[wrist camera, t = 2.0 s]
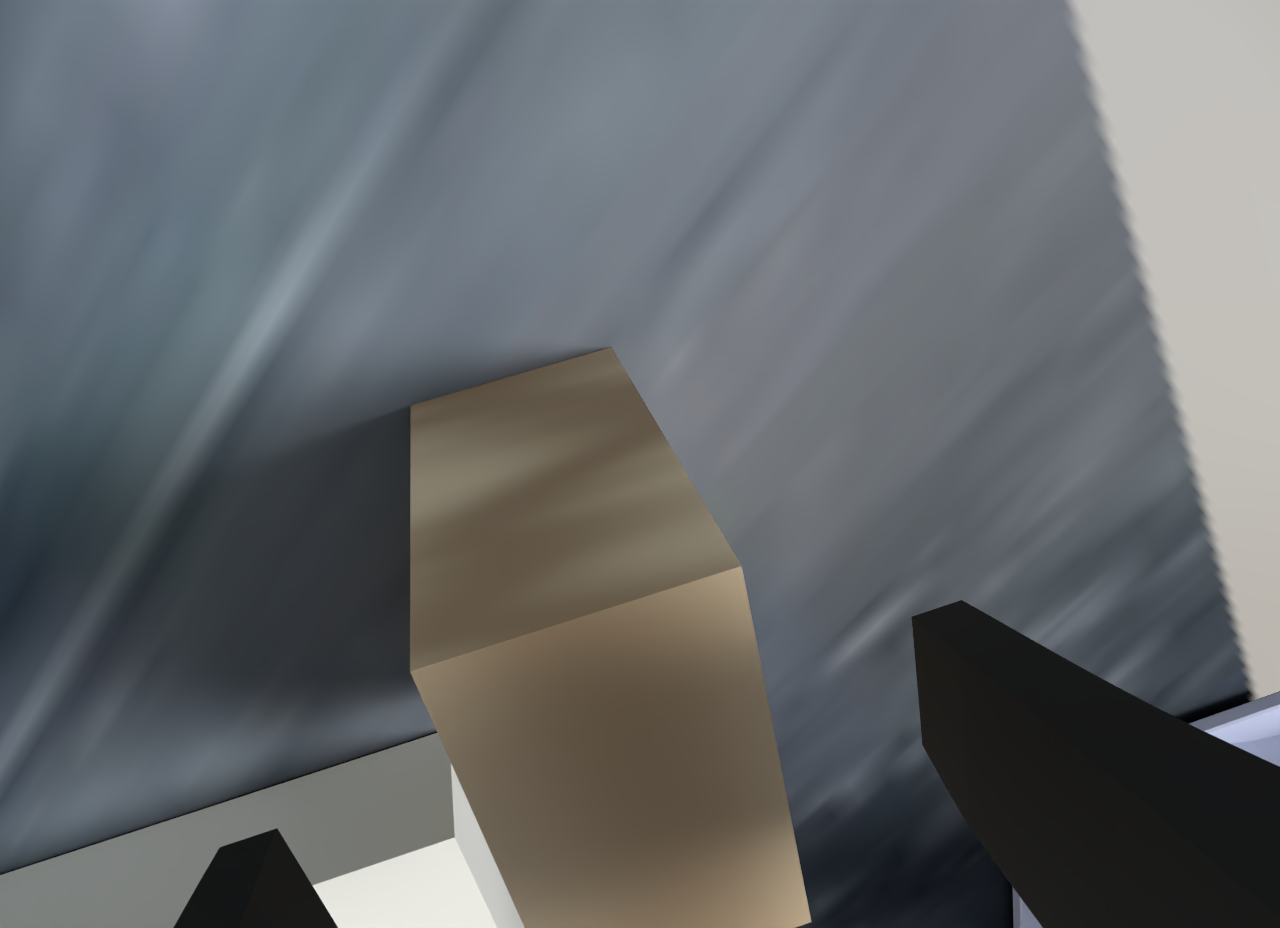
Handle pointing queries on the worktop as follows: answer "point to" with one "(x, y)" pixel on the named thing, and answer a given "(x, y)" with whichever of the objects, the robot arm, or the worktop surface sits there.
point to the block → (594, 660)
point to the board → (294, 853)
